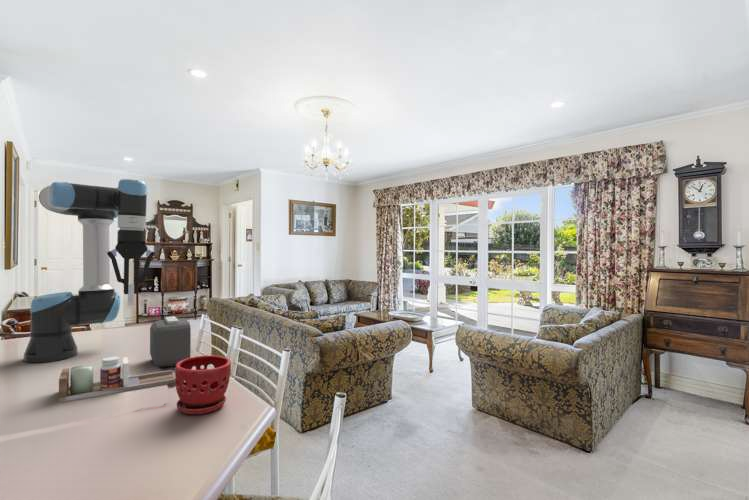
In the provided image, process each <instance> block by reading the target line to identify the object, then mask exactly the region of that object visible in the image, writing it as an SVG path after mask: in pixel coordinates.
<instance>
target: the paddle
mask: <svg viewBox="0 0 749 500" xmlns="http://www.w3.org/2000/svg"><path fill="white" fill-rule="evenodd" d="M129 363H130V362H129V357H128V356H125V357H122V378H123V387H125V386H131V385H137V384H140V382H139V378H138V377H135V378H129V376H130V374H129V373H130V371H129V370H130V364H129Z"/></svg>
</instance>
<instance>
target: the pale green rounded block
mask: <svg viewBox="0 0 749 500" xmlns="http://www.w3.org/2000/svg"><path fill="white" fill-rule="evenodd" d="M93 382H94V365H93V364H80V365H75V366H73V367H70V368H69V386H70V395H77V394H83V393H89V392H93Z"/></svg>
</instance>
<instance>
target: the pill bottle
mask: <svg viewBox="0 0 749 500" xmlns="http://www.w3.org/2000/svg"><path fill="white" fill-rule="evenodd" d="M121 369H122V366H121V364H120V357H119V356H109V357H105V358H102V360H101V366H100V377H99V379H100V380H99V381H100V389H101V390H107V389H113V388H119V387H120V378H121V371H122V370H121Z"/></svg>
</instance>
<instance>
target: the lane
mask: <svg viewBox="0 0 749 500" xmlns="http://www.w3.org/2000/svg"><path fill="white" fill-rule="evenodd" d="M172 372H173V370H172V369H170V370H169V369H168V370H162V371H155V372H150V373H144V374H137V375H129V378H135V377H138V378H139V382H140V384H137V385H131V386H125V387H123V377H120V387H119V388H113V389H107V390H101V389H100V380H98V381H93V392H89V393H83V394H77V395H70V368H69V367H68V368H62V370H61V372H60V376H59V378H58V403H59V404H60V403H65V402H71V401H77V400H83V399H88V398H89V399H90V398H94V397H101V396H105V395H111V394H116V393H118V394H119V393H124V392H129V391H136V390H142V389H146V388H152V387H153V388H154V387H156V386H157V387H158V386H163V385H166V387H167V388H170V387H176V383H175V377H174V376H173V373H172Z"/></svg>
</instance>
